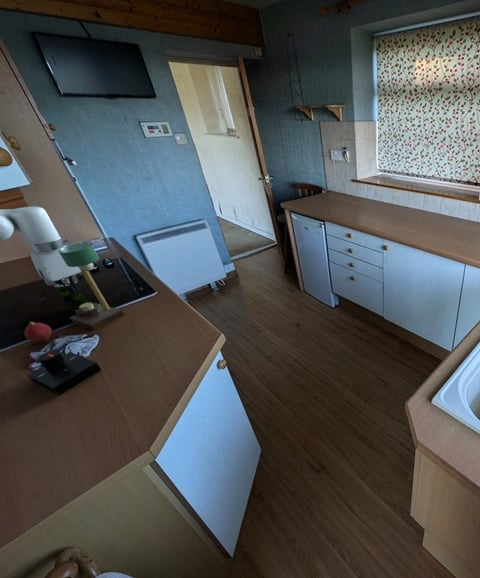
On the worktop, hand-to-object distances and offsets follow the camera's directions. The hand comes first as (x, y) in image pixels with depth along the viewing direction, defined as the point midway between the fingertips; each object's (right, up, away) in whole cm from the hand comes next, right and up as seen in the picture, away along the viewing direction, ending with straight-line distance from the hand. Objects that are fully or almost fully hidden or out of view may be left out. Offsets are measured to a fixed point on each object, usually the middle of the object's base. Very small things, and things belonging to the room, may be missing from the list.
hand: (76, 293), depth 105 cm
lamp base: (+4, -10, +5) cm, 11 cm away
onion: (-4, -16, -6) cm, 18 cm away
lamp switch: (0, -6, +4) cm, 7 cm away
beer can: (-10, -6, +11) cm, 17 cm away
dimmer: (+19, -24, -20) cm, 36 cm away
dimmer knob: (+17, -21, -21) cm, 34 cm away
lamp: (+11, -7, +2) cm, 13 cm away
